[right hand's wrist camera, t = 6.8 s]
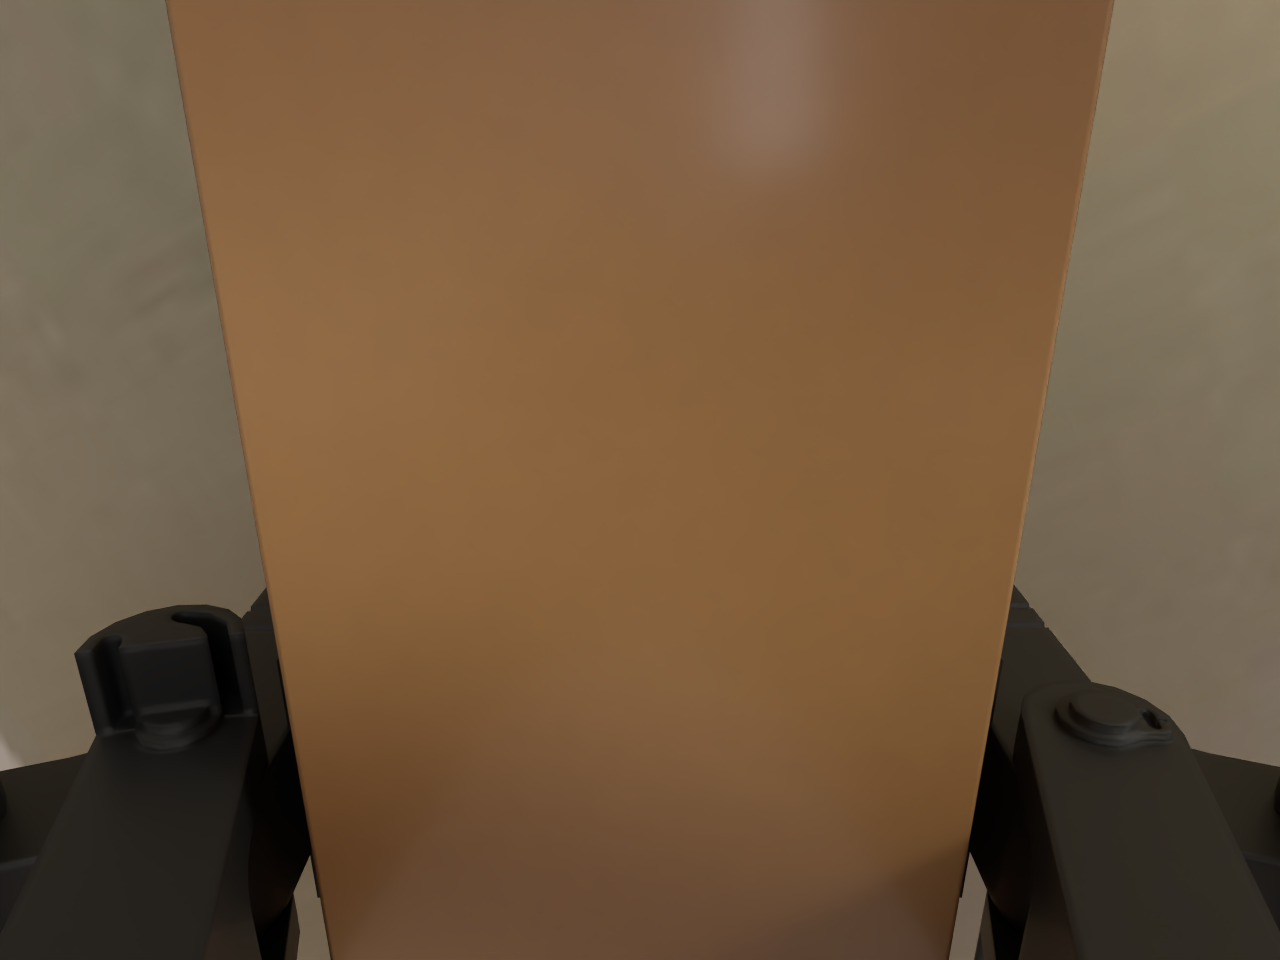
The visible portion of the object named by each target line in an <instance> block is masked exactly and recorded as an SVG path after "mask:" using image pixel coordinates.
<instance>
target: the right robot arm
mask: <svg viewBox="0 0 1280 960" xmlns="http://www.w3.org/2000/svg"><path fill="white" fill-rule="evenodd" d="M74 655H75V658H76V662H77V666H78V670H79V673H80V677H81V681H82V684H83V688H84V692H85V695H86V699H87V703H88V707H89V710H90V714H91V718H92V721H93V725H94V729H95V733H96V737H95V739H94V741H93V743H92V745H91V747H90V749H89V751H88V753H86V754H82V755H78V756H74V757H70V758H65V759H60V760H55V761H50V762H45V763H40V764H35V765H30V766H25V767H19V768H14V769H9V770H4V771H0V960H297V952H298V944H299V935H300V929H299V923H298V916H297V910H296V905H295V899H294V894H293V892H294V890H295V887H296V885H297V883H298V881H299V878H300V876H301V874H302V872H303V870H304V867H305V865H306V863H307V861H308V858H309V856H311V862H312V868H313V874H314V879H315V885H316V891H317V897H318V898H320V894H319V888H318V882H317V876H316V871H315V865H314V859H313V853H312V847H311V842H310V836H309V830H308V824H307V818H306V813H305V807H304V801H303V795H302V789H301V784H300V778H299V772H298V766H297V760H296V755H295V749H294V743H293V737H292V732H291V726H290V720H289V714H288V708H287V703H286V697H285V691H284V685H283V679H282V674H281V668H280V662H279V656H278V650H277V645H276V639H275V633H274V627H273V621H272V616H271V610H270V604H269V598H268V592H267V587H266V588H265V590H264V591H263V592H262V594H261V595H260V596H259V597H258V599H257V600H256V601H255V602H254V604H253V605H252V606H251V611H247V613H246V614H245V615H244V616H243V618H242V619H241V618H240V617H238V616H237V615H236V614H234V613H233V612H232V611H230V610H229V609H224V608H220V607H215V606H210V605H177V606H172V607H166V608H161V609H156V610H151V611H146V612H143V613H140V614H137V615H135V616H132V617H129V618H126V619H123V620H121V621H118V622H115V623H113V624H112V625H110V626H108V627H107V628H105V629H103V630H101V631H100V632H98V633H96V634H94V635H93V636H91V637H90V638H89V639H88V640H87V641H86V642H85V643H84V644H83V645H82V646H81V647H80V648H79V649H78V650H77V651H76V652H75V653H74ZM969 853H971V855H972V857H973V859H974V862H975V864H976V866H977V868H978V871H979V873H980V875H981V877H982V880H983V882H984V884H985V886H986V888H987V894H986V899H985V905H984V910H983V915H982V921H981V926H980V931H979V937H978V942H977V947H976V953H975V958H974V960H1280V767H1276V766H1271V765H1266V764H1261V763H1256V762H1251V761H1246V760H1241V759H1235V758H1230V757H1225V756H1220V755H1215V754H1210V753H1206V752H1202V751H1198V750H1195V749H1191V748H1190V746H1189V744H1188V742H1187V739H1186V737H1185V735H1184V734H1183V732H1182V731H1181V730H1180V729H1179V727H1178V726H1177V725H1176V724H1175V722H1174V721H1173V720H1172V719H1171V718H1170V716H1168V715H1167V714H1166V713H1164V712H1163V711H1161V710H1160V709H1158V708H1157V707H1155V706H1154V705H1152V704H1151V703H1149V702H1148V701H1146V700H1145V699H1142V698H1140V697H1138V696H1135V695H1133V694H1130V693H1128V692H1126V691H1123V690H1121V689H1118V688H1116V687H1111V686H1107V685H1102V684H1098V683H1093V682H1091V681H1090V680H1089V678H1088V677H1087V676H1086V675H1085V673H1084V672H1083V671H1082V669H1081V668H1080V667H1079V666H1078V664H1077V663H1076V662H1075V661H1074V659H1073V658H1072V657H1071V656H1070V654H1069V653H1068V652H1067V651H1066V649H1065V648H1064V647H1063V646H1062V644H1061V643H1060V642H1059V641H1058V639H1057V638H1056V637H1055V636H1054V634H1053V633H1052V632H1051V631H1050V629H1049V628H1045V627H1044V622H1043V621H1042V619H1041V618H1040V617H1039V616H1038V614H1037V613H1036V612H1035V611H1034V609H1033V608H1029V603H1028V602H1027V601H1026V599H1025V598H1024V597H1023V596H1022V594H1021V593H1020V592H1019V591H1018V589H1017V588H1016V587H1015V585H1014V584H1013V590H1012V596H1011V602H1010V607H1009V613H1008V619H1007V625H1006V630H1005V636H1004V642H1003V648H1002V654H1001V659H1000V665H999V671H998V677H997V683H996V688H995V694H994V700H993V706H992V712H991V717H990V723H989V729H988V735H987V741H986V746H985V752H984V758H983V764H982V770H981V775H980V781H979V787H978V793H977V798H976V804H975V810H974V816H973V822H972V827H971V833H970V839H969V845H968V851H967V856H966V862H965V868H964V874H963V880H962V885H961V891H960V897H959V898H962V893H963V888H964V882H965V876H966V870H967V865H968V859H969Z"/></svg>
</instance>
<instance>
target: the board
mask: <svg viewBox="0 0 1280 960" xmlns="http://www.w3.org/2000/svg"><path fill="white" fill-rule="evenodd" d="M165 1H166V7H167V13H168V19H169V25H170V30H171V36H172V42H173V48H174V54H175V59H176V65H177V71H178V77H179V83H180V88H181V94H182V100H183V106H184V111H185V117H186V123H187V129H188V135H189V140H190V146H191V152H192V158H193V164H194V169H195V175H196V181H197V187H198V193H199V198H200V204H201V210H202V216H203V222H204V227H205V233H206V239H207V245H208V251H209V256H210V262H211V268H212V274H213V280H214V285H215V291H216V297H217V303H218V309H219V314H220V320H221V326H222V332H223V337H224V343H225V349H226V355H227V361H228V366H229V372H230V378H231V384H232V390H233V395H234V401H235V407H236V413H237V419H238V424H239V430H240V436H241V442H242V448H243V453H244V459H245V465H246V471H247V477H248V482H249V488H250V494H251V500H252V506H253V511H254V517H255V523H256V529H257V534H258V540H259V546H260V552H261V558H262V563H263V569H264V575H265V581H266V587H267V592H268V598H269V604H270V610H271V616H272V621H273V627H274V633H275V639H276V645H277V650H278V656H279V662H280V668H281V674H282V679H283V685H284V691H285V697H286V703H287V708H288V714H289V720H290V726H291V732H292V737H293V743H294V749H295V755H296V760H297V766H298V772H299V778H300V784H301V789H302V795H303V801H304V807H305V813H306V818H307V824H308V830H309V836H310V842H311V847H312V853H313V859H314V865H315V871H316V876H317V882H318V888H319V894H320V900H321V905H322V911H323V917H324V923H325V929H326V934H327V940H328V946H329V952H330V958H331V960H949V955H950V949H951V943H952V938H953V932H954V926H955V920H956V914H957V909H958V903H959V897H960V891H961V885H962V880H963V874H964V868H965V862H966V856H967V851H968V845H969V839H970V833H971V827H972V822H973V816H974V810H975V804H976V798H977V793H978V787H979V781H980V775H981V770H982V764H983V758H984V752H985V746H986V741H987V735H988V729H989V723H990V717H991V712H992V706H993V700H994V694H995V688H996V683H997V677H998V671H999V665H1000V659H1001V654H1002V648H1003V642H1004V636H1005V630H1006V625H1007V619H1008V613H1009V607H1010V602H1011V596H1012V590H1013V584H1014V578H1015V573H1016V567H1017V561H1018V555H1019V549H1020V544H1021V538H1022V532H1023V526H1024V520H1025V515H1026V509H1027V503H1028V497H1029V491H1030V486H1031V480H1032V474H1033V468H1034V462H1035V457H1036V451H1037V445H1038V439H1039V434H1040V428H1041V422H1042V416H1043V410H1044V405H1045V399H1046V393H1047V387H1048V381H1049V376H1050V370H1051V364H1052V358H1053V352H1054V347H1055V341H1056V335H1057V329H1058V323H1059V318H1060V312H1061V306H1062V300H1063V294H1064V289H1065V283H1066V277H1067V271H1068V266H1069V260H1070V254H1071V248H1072V242H1073V237H1074V231H1075V225H1076V219H1077V213H1078V208H1079V202H1080V196H1081V190H1082V184H1083V179H1084V173H1085V167H1086V161H1087V155H1088V150H1089V144H1090V138H1091V132H1092V126H1093V121H1094V115H1095V109H1096V103H1097V97H1098V92H1099V86H1100V80H1101V74H1102V69H1103V63H1104V57H1105V51H1106V45H1107V40H1108V34H1109V28H1110V22H1111V16H1112V11H1113V5H1114V0H165Z"/></svg>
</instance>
